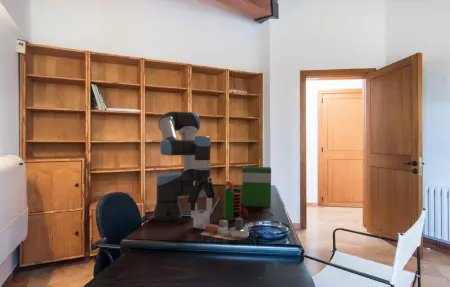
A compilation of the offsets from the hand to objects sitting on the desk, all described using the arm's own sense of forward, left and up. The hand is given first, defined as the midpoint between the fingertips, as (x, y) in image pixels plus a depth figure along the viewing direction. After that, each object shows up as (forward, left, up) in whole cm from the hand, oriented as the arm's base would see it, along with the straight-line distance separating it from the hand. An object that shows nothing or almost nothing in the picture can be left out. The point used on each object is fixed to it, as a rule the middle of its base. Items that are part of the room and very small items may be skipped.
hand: (201, 214), depth 138 cm
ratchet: (+15, -4, -6) cm, 16 cm away
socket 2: (+11, +1, -6) cm, 12 cm away
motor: (+6, +21, -7) cm, 23 cm away
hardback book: (+5, +59, -7) cm, 60 cm away
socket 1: (0, 0, -7) cm, 7 cm away
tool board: (+17, -3, -7) cm, 18 cm away
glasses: (+12, +38, -7) cm, 41 cm away
